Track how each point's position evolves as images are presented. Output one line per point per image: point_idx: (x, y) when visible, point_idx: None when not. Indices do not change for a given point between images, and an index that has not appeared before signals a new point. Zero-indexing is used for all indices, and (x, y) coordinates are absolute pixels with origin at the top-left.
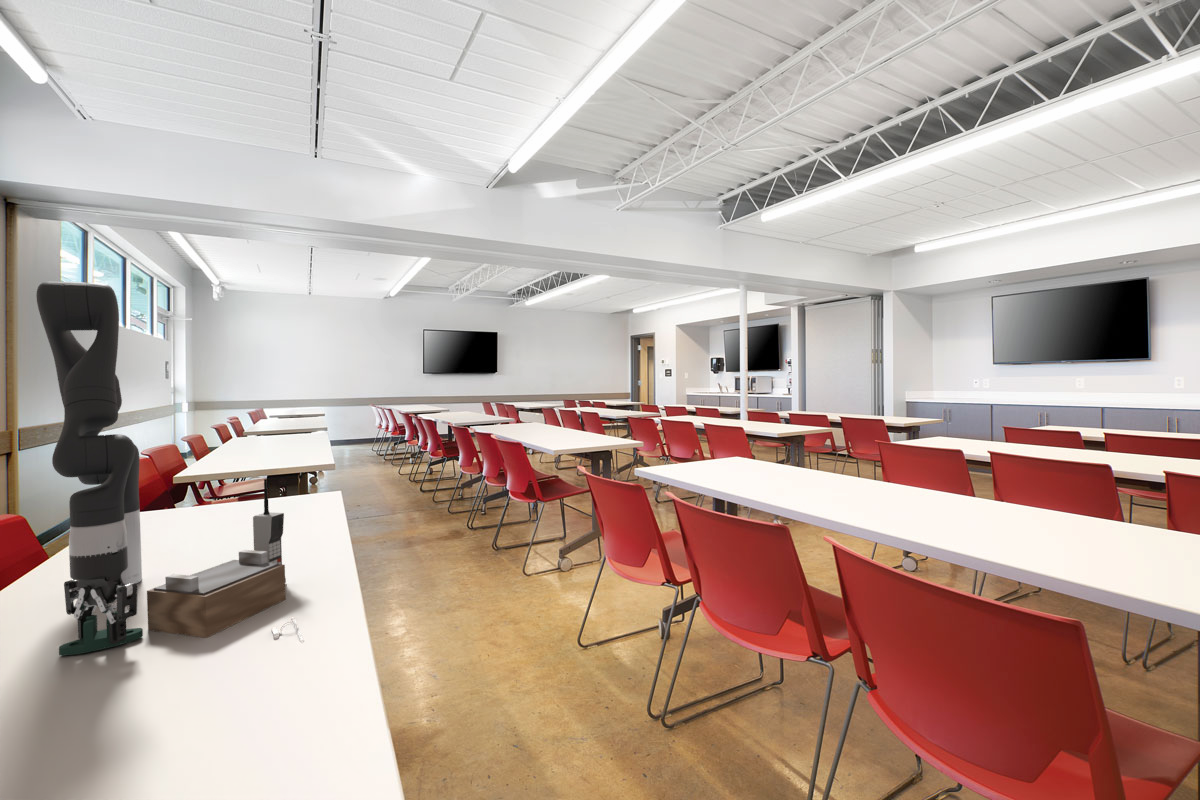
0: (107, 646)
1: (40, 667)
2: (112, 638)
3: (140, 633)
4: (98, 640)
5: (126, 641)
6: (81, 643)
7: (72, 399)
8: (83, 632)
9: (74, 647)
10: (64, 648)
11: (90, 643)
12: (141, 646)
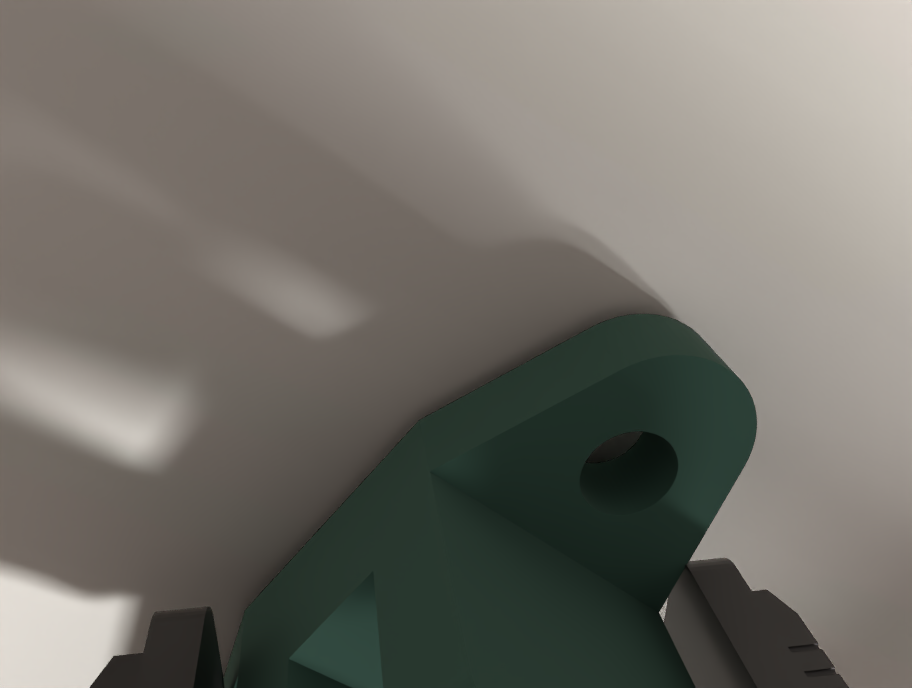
0: (293, 572)
1: (619, 75)
2: (142, 665)
3: None
4: (344, 592)
5: None
6: (542, 501)
7: None
8: (456, 613)
9: (519, 421)
10: (617, 368)
11: (393, 528)
12: (20, 682)
